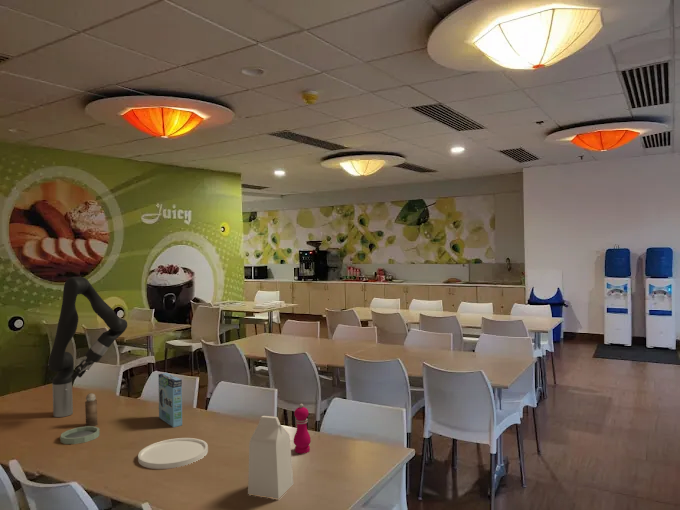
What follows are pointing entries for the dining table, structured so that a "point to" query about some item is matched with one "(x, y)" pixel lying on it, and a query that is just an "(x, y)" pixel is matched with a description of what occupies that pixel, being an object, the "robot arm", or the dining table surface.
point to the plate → (172, 453)
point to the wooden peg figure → (91, 410)
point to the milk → (270, 459)
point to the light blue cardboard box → (170, 399)
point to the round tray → (79, 435)
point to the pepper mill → (302, 431)
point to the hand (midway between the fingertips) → (75, 377)
